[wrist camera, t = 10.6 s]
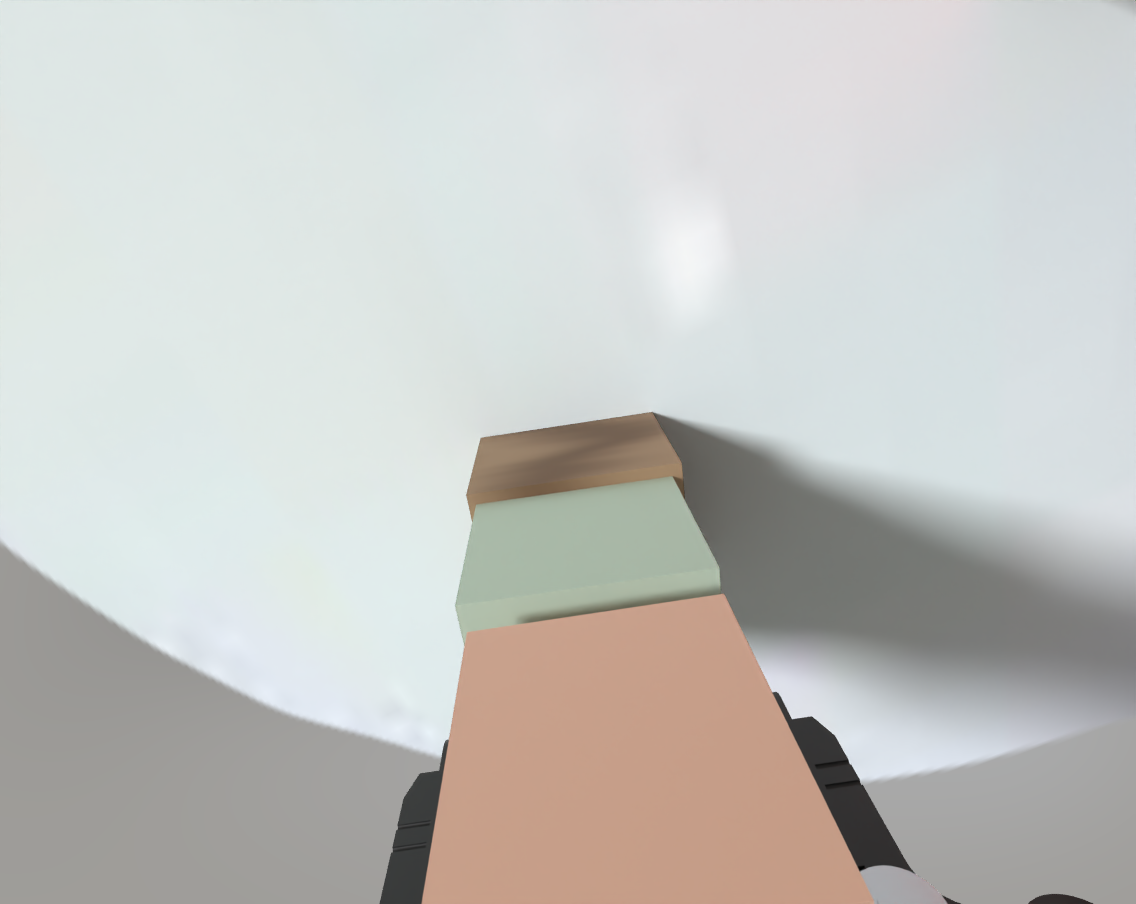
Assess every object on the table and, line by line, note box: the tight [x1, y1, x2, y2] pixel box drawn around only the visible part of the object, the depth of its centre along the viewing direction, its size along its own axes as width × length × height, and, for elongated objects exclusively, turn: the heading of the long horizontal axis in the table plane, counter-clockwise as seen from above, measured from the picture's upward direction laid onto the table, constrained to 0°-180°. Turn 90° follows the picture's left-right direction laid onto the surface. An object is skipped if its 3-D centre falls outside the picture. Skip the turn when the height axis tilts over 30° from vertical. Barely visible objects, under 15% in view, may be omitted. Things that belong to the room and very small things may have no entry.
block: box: [422, 594, 874, 904], centre depth 11 cm, size 5×5×6 cm
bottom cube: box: [466, 412, 685, 522], centre depth 22 cm, size 6×6×5 cm
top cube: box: [455, 476, 721, 646], centre depth 17 cm, size 6×6×5 cm
